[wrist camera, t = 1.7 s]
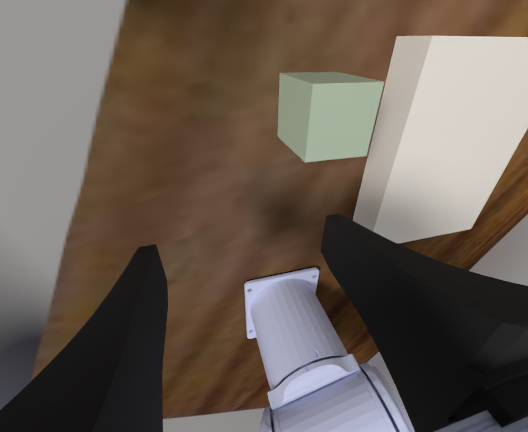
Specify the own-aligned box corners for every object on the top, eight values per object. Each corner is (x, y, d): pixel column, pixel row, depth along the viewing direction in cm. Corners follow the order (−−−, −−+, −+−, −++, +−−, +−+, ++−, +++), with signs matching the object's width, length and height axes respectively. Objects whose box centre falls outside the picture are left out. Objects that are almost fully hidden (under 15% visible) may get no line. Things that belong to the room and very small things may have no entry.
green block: (327, 132, 20) (366, 155, 16) (277, 136, 19) (304, 162, 15) (336, 71, 17) (384, 81, 13) (279, 72, 17) (313, 84, 13)
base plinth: (446, 213, 29) (470, 229, 26) (349, 230, 26) (367, 249, 24) (530, 38, 20) (578, 38, 18) (396, 36, 17) (432, 35, 15)
